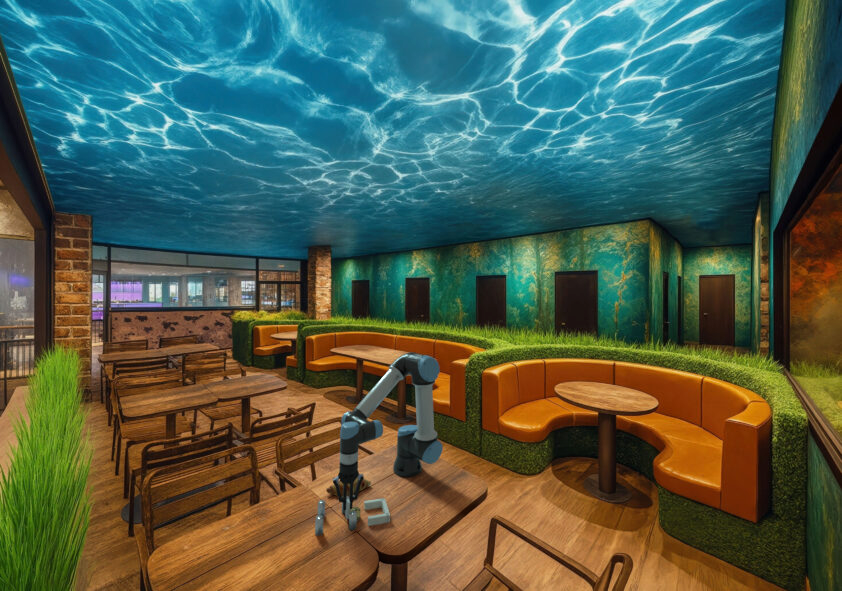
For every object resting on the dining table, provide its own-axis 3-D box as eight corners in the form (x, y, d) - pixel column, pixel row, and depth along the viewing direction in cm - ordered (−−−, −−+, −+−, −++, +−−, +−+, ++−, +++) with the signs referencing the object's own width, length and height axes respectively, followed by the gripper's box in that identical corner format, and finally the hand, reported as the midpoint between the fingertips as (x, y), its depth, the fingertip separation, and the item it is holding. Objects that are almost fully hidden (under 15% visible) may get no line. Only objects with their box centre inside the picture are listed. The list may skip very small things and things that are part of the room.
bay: (364, 507, 152) (364, 501, 152) (384, 504, 155) (384, 498, 155) (368, 526, 141) (368, 518, 141) (389, 522, 143) (390, 515, 143)
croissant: (368, 490, 172) (367, 472, 175) (374, 490, 164) (372, 471, 167) (325, 499, 163) (324, 480, 166) (328, 499, 155) (328, 479, 158)
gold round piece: (348, 515, 147) (348, 507, 146) (359, 514, 148) (359, 505, 148) (349, 523, 142) (349, 514, 142) (360, 521, 144) (361, 512, 144)
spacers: (315, 514, 147) (315, 500, 147) (353, 508, 152) (353, 494, 152) (315, 537, 134) (315, 521, 134) (356, 529, 138) (357, 515, 138)
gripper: (333, 467, 138) (331, 525, 139) (365, 463, 142) (364, 519, 143) (332, 458, 145) (330, 513, 146) (363, 454, 149) (361, 508, 150)
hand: (347, 516), depth 144 cm, fingers closed
